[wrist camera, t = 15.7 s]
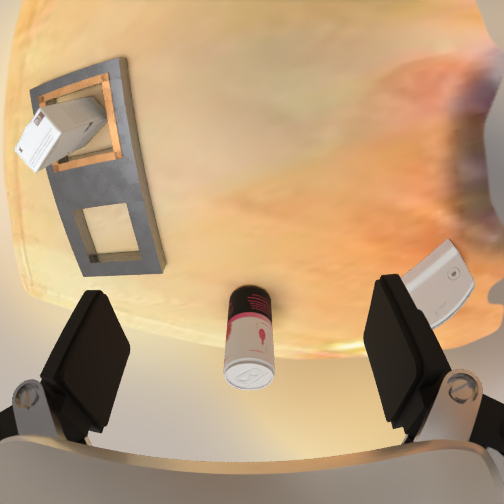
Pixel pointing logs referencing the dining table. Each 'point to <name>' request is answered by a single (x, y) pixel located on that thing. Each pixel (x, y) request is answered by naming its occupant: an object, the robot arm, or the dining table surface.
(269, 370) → the beverage can
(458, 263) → the white curved block
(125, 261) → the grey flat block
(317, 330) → the dining table surface
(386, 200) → the dining table surface
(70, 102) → the skincare box
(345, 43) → the dining table surface
